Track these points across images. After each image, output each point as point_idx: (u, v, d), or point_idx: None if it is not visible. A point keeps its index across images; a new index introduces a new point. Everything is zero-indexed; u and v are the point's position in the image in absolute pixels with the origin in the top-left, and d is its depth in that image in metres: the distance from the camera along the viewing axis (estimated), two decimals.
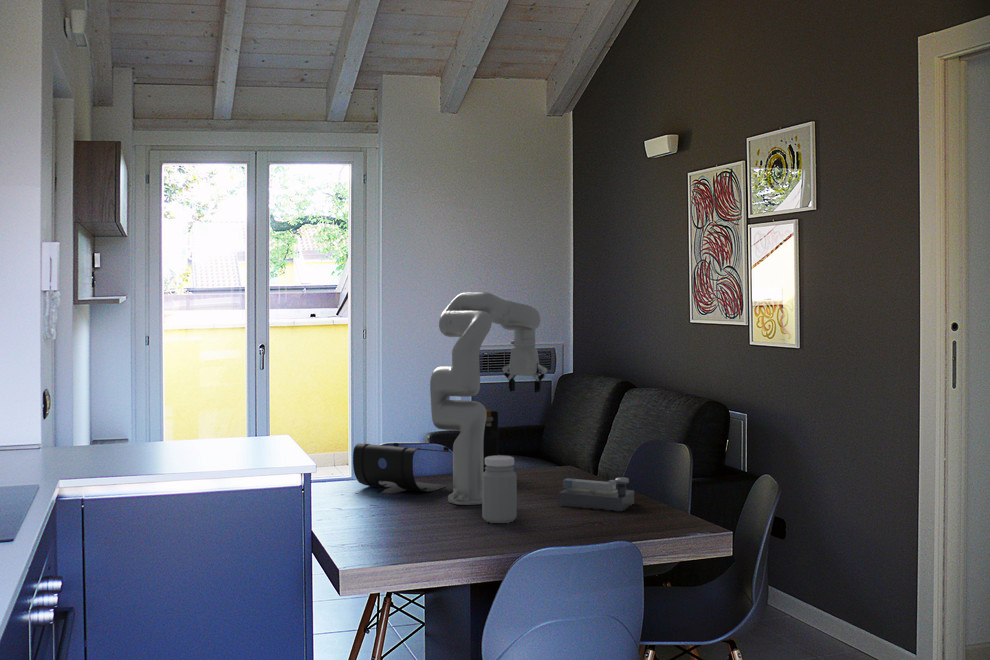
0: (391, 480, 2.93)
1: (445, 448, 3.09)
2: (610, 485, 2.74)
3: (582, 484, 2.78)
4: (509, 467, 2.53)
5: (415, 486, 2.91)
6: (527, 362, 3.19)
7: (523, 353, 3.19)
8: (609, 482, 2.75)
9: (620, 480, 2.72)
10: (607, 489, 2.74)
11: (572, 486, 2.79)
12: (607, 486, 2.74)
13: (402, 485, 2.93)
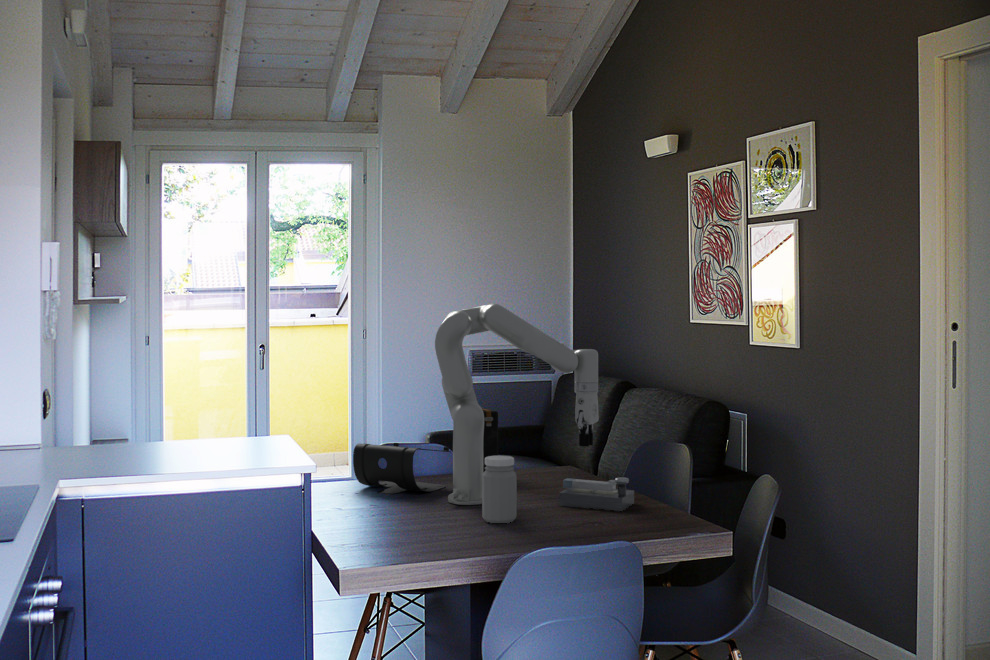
0: (391, 480, 2.93)
1: (445, 448, 3.09)
2: (610, 485, 2.74)
3: (582, 484, 2.78)
4: (509, 467, 2.53)
5: (415, 486, 2.91)
6: (596, 407, 2.87)
7: (595, 398, 2.86)
8: (609, 482, 2.75)
9: (620, 480, 2.72)
10: (607, 489, 2.74)
11: (572, 486, 2.79)
12: (607, 486, 2.74)
13: (402, 485, 2.93)
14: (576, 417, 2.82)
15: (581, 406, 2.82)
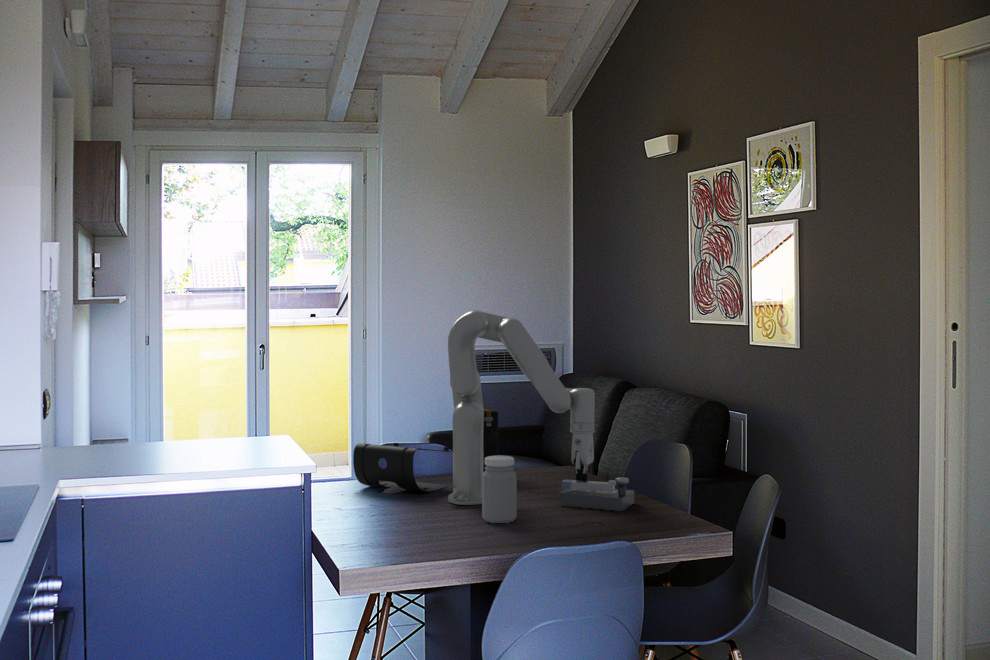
0: (391, 480, 2.94)
1: (445, 448, 3.09)
2: (610, 485, 2.73)
3: (581, 485, 2.76)
4: (509, 467, 2.53)
5: (415, 486, 2.91)
6: (592, 447, 2.83)
7: (591, 438, 2.81)
8: (609, 482, 2.74)
9: (621, 480, 2.72)
10: (607, 489, 2.74)
11: (571, 487, 2.77)
12: (607, 486, 2.74)
13: (402, 485, 2.93)
14: (573, 458, 2.78)
15: (578, 447, 2.77)
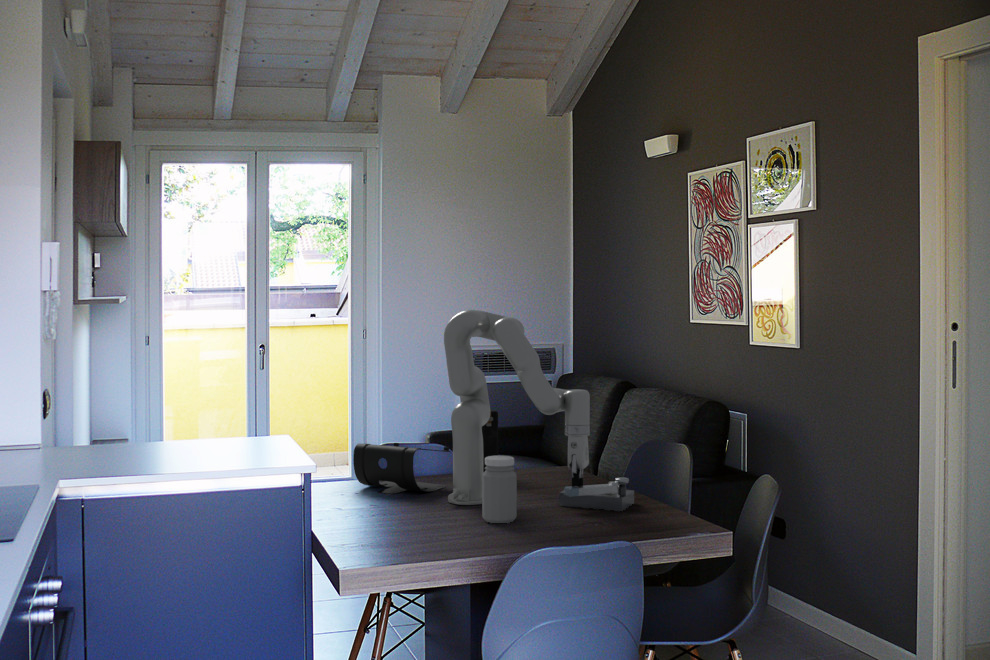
0: (391, 480, 2.94)
1: (445, 448, 3.09)
2: (615, 487, 2.71)
3: (588, 490, 2.68)
4: (509, 467, 2.53)
5: (415, 486, 2.91)
6: (587, 450, 2.74)
7: (586, 441, 2.73)
8: (612, 484, 2.72)
9: (625, 480, 2.73)
10: (613, 491, 2.71)
11: (579, 494, 2.67)
12: (612, 488, 2.71)
13: (402, 485, 2.93)
14: (569, 462, 2.69)
15: (574, 450, 2.68)
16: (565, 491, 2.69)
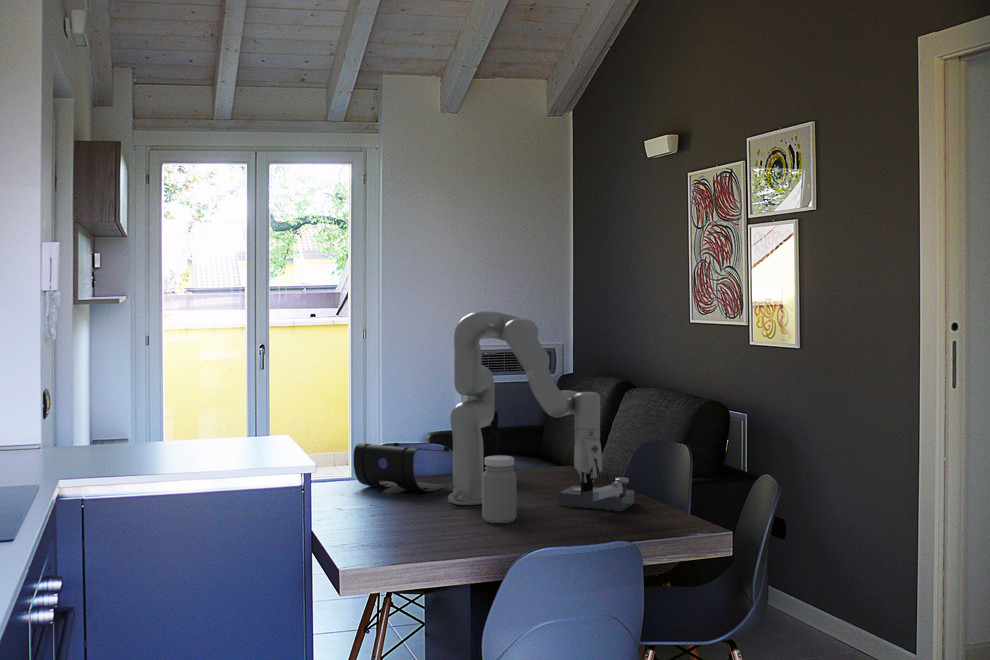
0: (392, 480, 2.94)
1: (445, 448, 3.09)
2: (621, 487, 2.71)
3: (604, 493, 2.64)
4: (509, 467, 2.53)
5: (416, 486, 2.91)
6: None
7: None
8: (618, 484, 2.71)
9: (627, 480, 2.73)
10: (619, 492, 2.70)
11: (599, 497, 2.61)
12: (619, 488, 2.70)
13: (403, 485, 2.93)
14: (589, 467, 2.61)
15: (595, 454, 2.62)
16: (584, 496, 2.61)
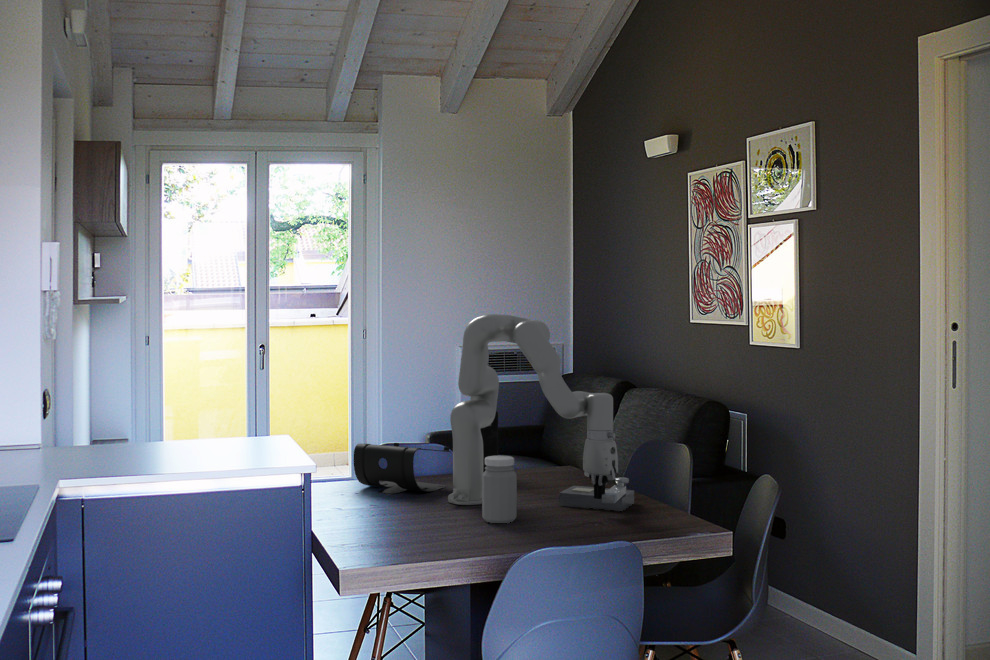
0: (392, 480, 2.94)
1: (445, 448, 3.09)
2: (625, 487, 2.71)
3: (619, 494, 2.62)
4: (509, 467, 2.53)
5: (416, 486, 2.91)
6: None
7: None
8: (622, 485, 2.71)
9: (628, 479, 2.74)
10: (625, 492, 2.70)
11: (616, 499, 2.59)
12: (624, 489, 2.70)
13: (403, 485, 2.93)
14: (609, 469, 2.58)
15: (613, 456, 2.59)
16: (604, 499, 2.57)
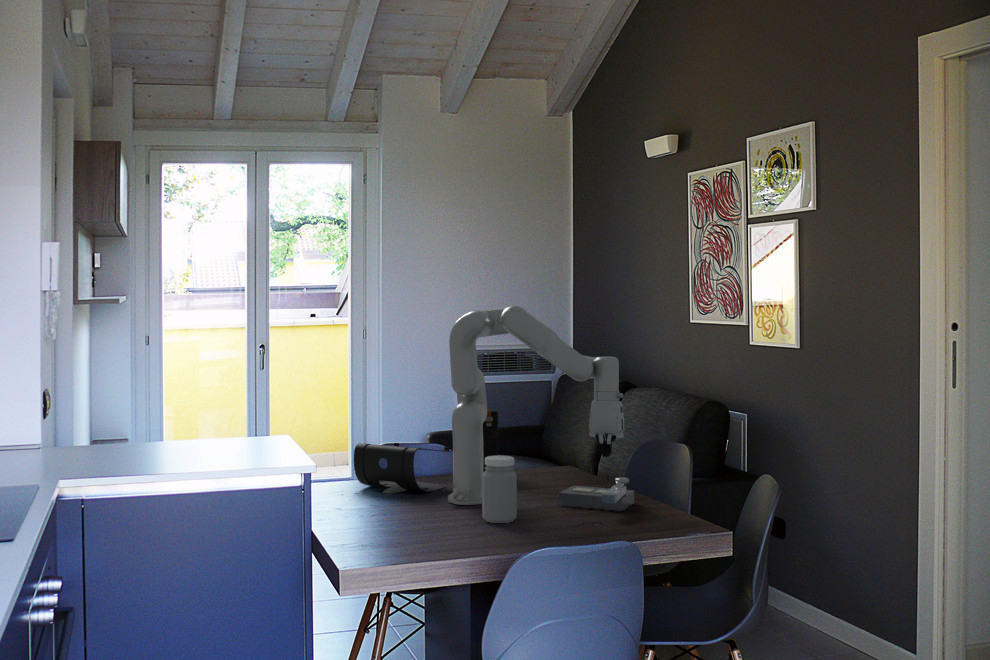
0: (392, 480, 2.94)
1: (446, 448, 3.09)
2: (625, 487, 2.71)
3: (619, 494, 2.62)
4: (509, 467, 2.53)
5: (416, 486, 2.91)
6: None
7: None
8: (622, 485, 2.71)
9: (628, 479, 2.74)
10: (625, 492, 2.70)
11: (617, 499, 2.59)
12: (624, 489, 2.70)
13: (403, 485, 2.93)
14: (620, 427, 2.73)
15: (622, 415, 2.74)
16: (604, 499, 2.57)
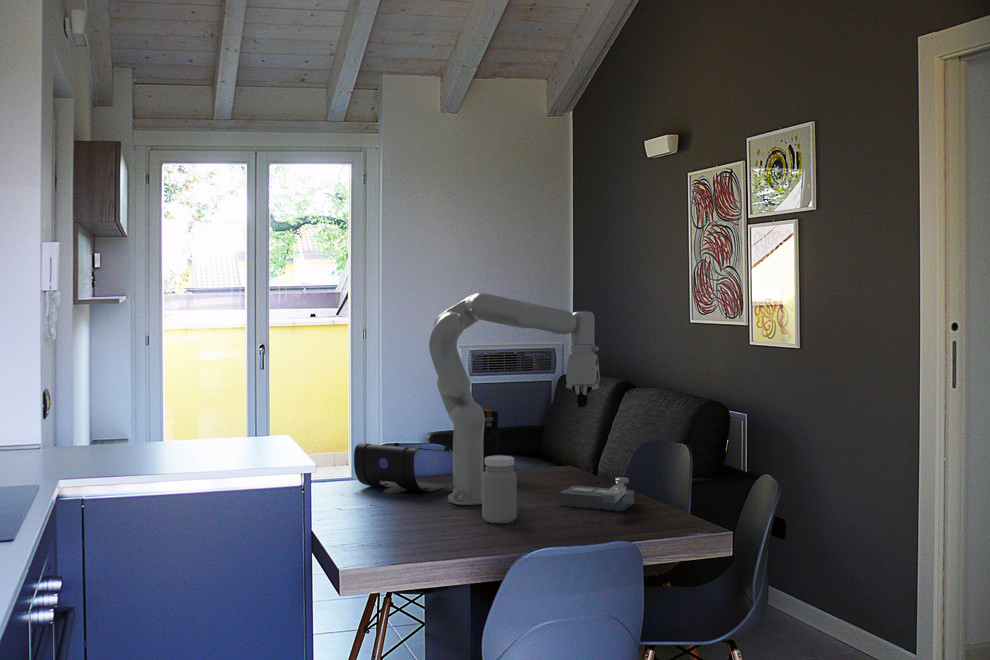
0: (392, 480, 2.94)
1: (446, 448, 3.09)
2: (625, 487, 2.71)
3: (619, 494, 2.62)
4: (509, 467, 2.53)
5: (416, 486, 2.91)
6: None
7: None
8: (622, 485, 2.71)
9: (628, 479, 2.74)
10: (625, 492, 2.70)
11: (617, 499, 2.59)
12: (624, 489, 2.70)
13: (403, 485, 2.93)
14: (595, 378, 2.85)
15: (597, 367, 2.87)
16: (604, 499, 2.57)
